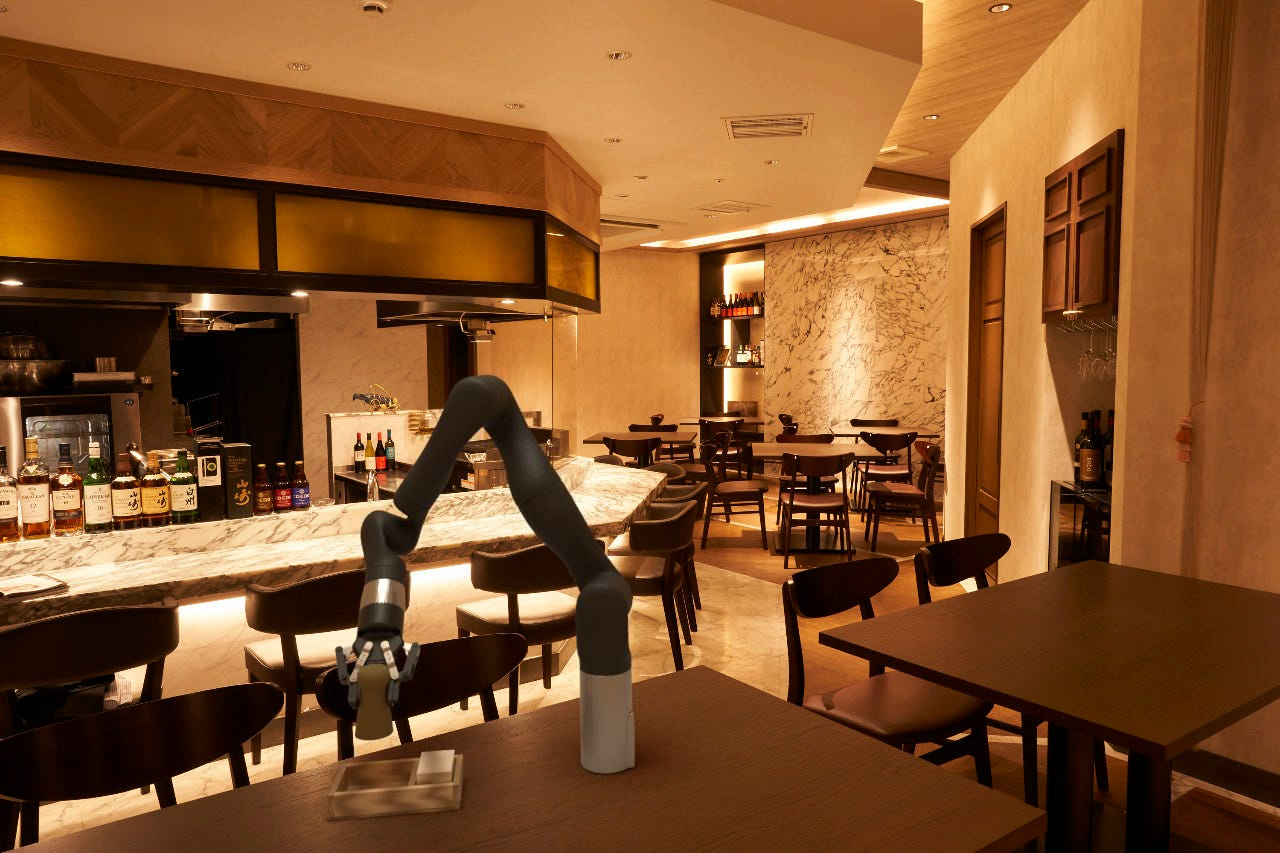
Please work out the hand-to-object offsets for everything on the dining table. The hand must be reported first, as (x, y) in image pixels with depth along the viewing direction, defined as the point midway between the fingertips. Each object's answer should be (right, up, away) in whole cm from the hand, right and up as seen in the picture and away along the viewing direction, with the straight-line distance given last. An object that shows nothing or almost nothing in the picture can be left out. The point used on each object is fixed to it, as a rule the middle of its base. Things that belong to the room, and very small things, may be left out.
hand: (372, 705), depth 131 cm
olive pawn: (0, -5, +2) cm, 6 cm away
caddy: (+3, -16, +3) cm, 17 cm away
